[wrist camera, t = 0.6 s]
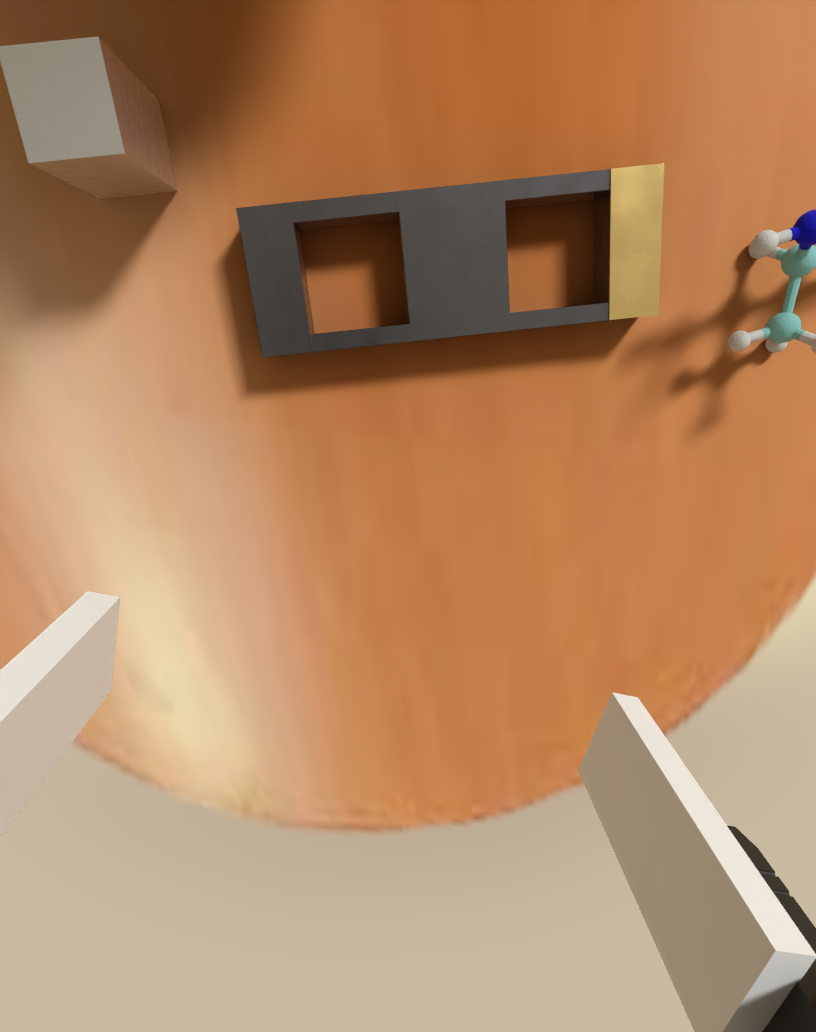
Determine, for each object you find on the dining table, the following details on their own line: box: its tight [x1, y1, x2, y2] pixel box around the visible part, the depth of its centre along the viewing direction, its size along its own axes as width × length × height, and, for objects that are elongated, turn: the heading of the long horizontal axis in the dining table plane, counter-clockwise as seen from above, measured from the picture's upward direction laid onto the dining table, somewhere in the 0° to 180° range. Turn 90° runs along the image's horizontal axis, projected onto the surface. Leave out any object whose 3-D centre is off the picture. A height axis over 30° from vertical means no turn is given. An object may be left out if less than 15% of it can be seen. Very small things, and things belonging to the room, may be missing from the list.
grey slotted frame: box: [236, 163, 664, 357], centre depth 33 cm, size 8×24×3 cm, turn 96°
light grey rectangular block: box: [0, 36, 177, 199], centre depth 28 cm, size 4×4×7 cm
